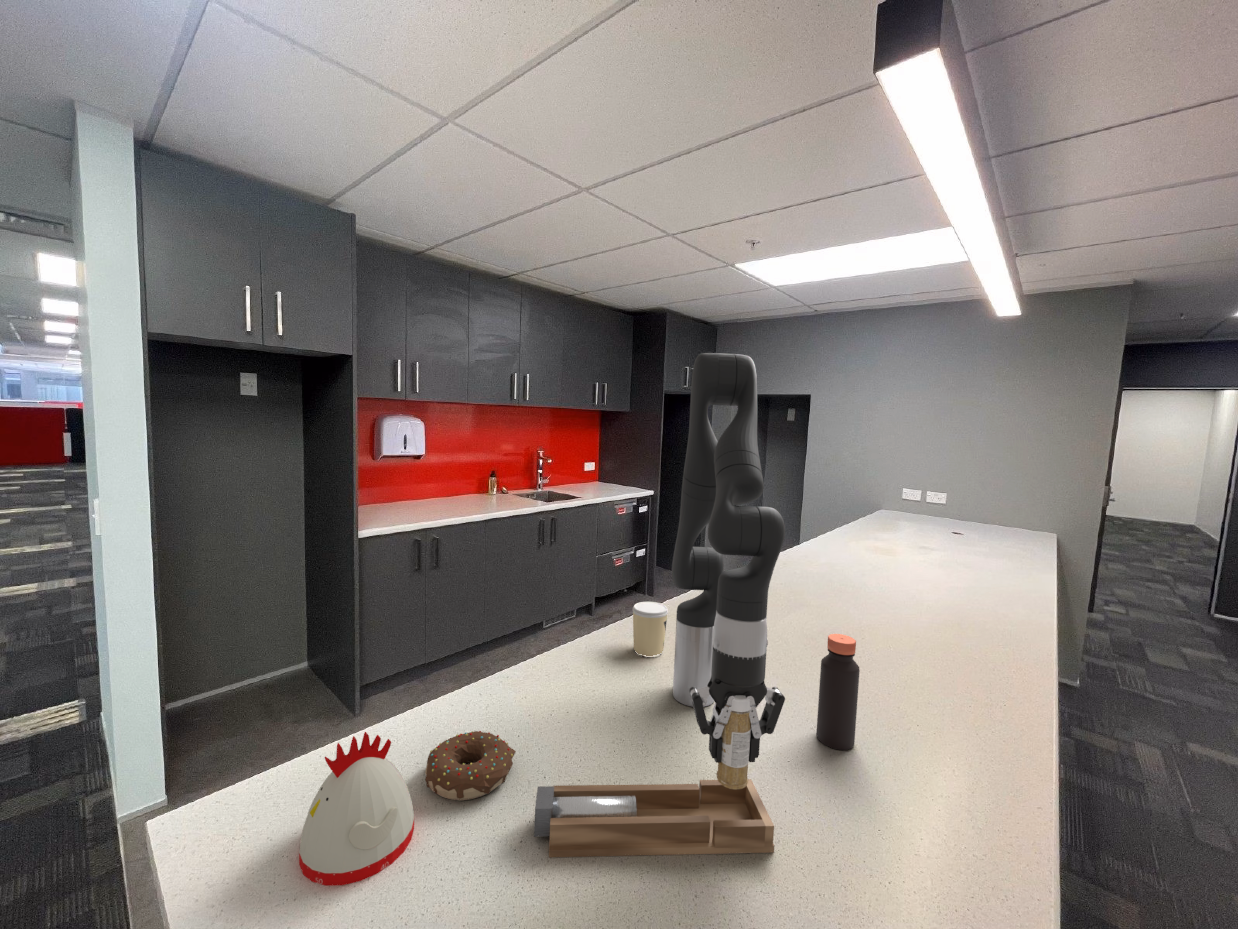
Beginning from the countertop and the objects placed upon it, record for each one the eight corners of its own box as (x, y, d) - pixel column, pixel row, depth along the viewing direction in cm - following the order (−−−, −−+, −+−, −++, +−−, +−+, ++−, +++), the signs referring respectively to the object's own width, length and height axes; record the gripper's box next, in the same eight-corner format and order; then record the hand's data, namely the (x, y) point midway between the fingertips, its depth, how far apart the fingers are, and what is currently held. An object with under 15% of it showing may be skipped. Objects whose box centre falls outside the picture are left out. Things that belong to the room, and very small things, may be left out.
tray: (552, 806, 77) (553, 781, 76) (751, 804, 79) (753, 779, 79) (548, 858, 67) (549, 830, 67) (774, 853, 70) (776, 826, 69)
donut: (421, 816, 74) (421, 784, 74) (428, 758, 87) (428, 730, 87) (519, 800, 78) (520, 769, 78) (512, 746, 91) (513, 720, 91)
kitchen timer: (288, 837, 69) (288, 731, 68) (391, 790, 79) (393, 697, 78) (316, 908, 59) (317, 785, 58) (430, 844, 69) (432, 738, 68)
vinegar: (808, 733, 99) (814, 633, 98) (835, 727, 101) (842, 630, 100) (834, 754, 92) (841, 648, 91) (862, 747, 95) (870, 643, 94)
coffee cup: (672, 656, 131) (674, 611, 130) (639, 661, 127) (641, 614, 127) (656, 642, 139) (658, 599, 139) (625, 646, 136) (627, 602, 135)
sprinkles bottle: (712, 770, 75) (717, 683, 75) (742, 770, 76) (747, 683, 75) (721, 792, 71) (726, 699, 70) (753, 791, 71) (758, 699, 71)
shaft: (536, 812, 74) (537, 786, 74) (633, 811, 75) (634, 785, 75) (534, 836, 70) (534, 809, 69) (636, 834, 71) (637, 807, 70)
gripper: (777, 634, 77) (771, 743, 78) (685, 633, 76) (679, 743, 76) (798, 655, 69) (791, 776, 70) (696, 655, 68) (690, 777, 69)
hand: (733, 758), depth 73 cm, fingers closed on sprinkles bottle, 4 cm apart
